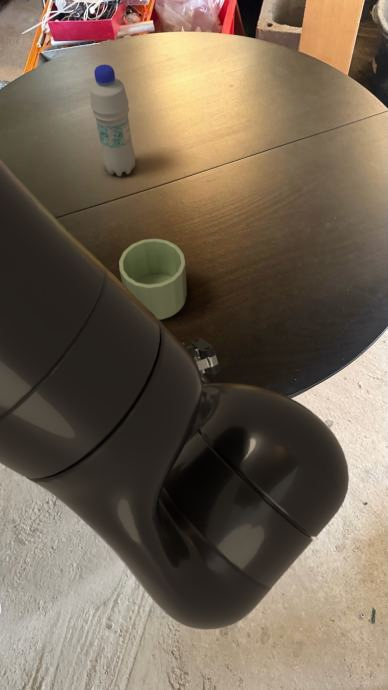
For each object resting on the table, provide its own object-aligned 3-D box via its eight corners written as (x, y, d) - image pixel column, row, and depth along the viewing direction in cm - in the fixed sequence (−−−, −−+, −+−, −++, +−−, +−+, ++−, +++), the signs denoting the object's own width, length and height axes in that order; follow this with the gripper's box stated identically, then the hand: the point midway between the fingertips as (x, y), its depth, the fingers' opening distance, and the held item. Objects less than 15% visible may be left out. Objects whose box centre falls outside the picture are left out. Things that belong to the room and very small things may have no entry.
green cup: (128, 323, 75) (121, 290, 68) (124, 277, 80) (117, 242, 73) (190, 316, 75) (188, 283, 69) (182, 270, 81) (180, 235, 74)
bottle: (136, 179, 94) (121, 76, 77) (102, 179, 94) (80, 77, 77) (138, 158, 98) (125, 55, 81) (106, 158, 98) (86, 56, 81)
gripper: (231, 327, 38) (182, 310, 53) (56, 391, 35) (58, 353, 50) (256, 412, 39) (201, 371, 55) (90, 479, 37) (82, 416, 52)
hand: (133, 363), depth 52 cm, fingers open, 8 cm apart
